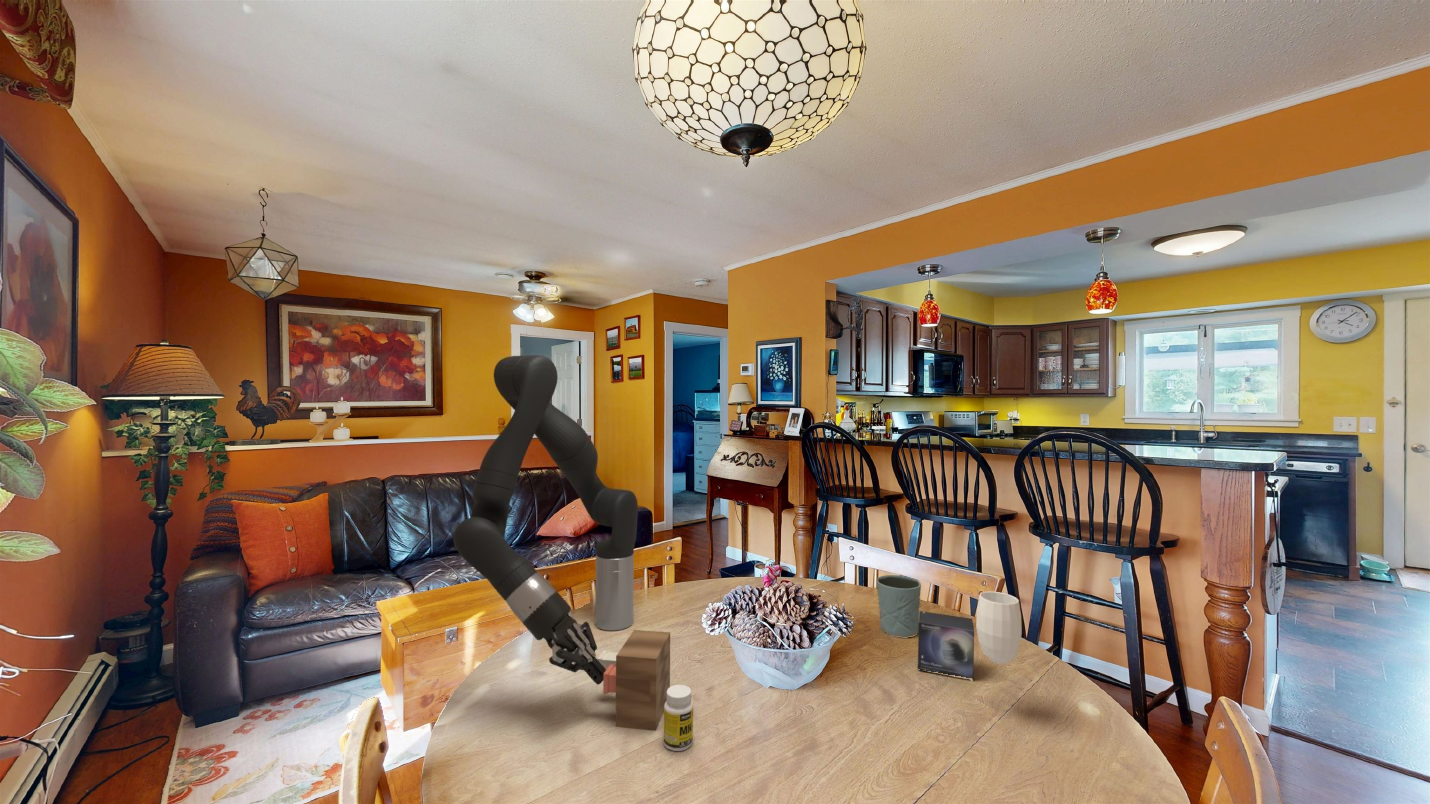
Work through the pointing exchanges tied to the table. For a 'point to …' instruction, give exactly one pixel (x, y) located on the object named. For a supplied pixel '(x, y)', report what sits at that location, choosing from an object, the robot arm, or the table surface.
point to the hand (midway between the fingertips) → (603, 679)
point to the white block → (607, 658)
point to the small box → (946, 644)
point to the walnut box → (642, 679)
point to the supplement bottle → (678, 718)
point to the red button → (609, 680)
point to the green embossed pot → (899, 604)
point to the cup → (999, 626)
